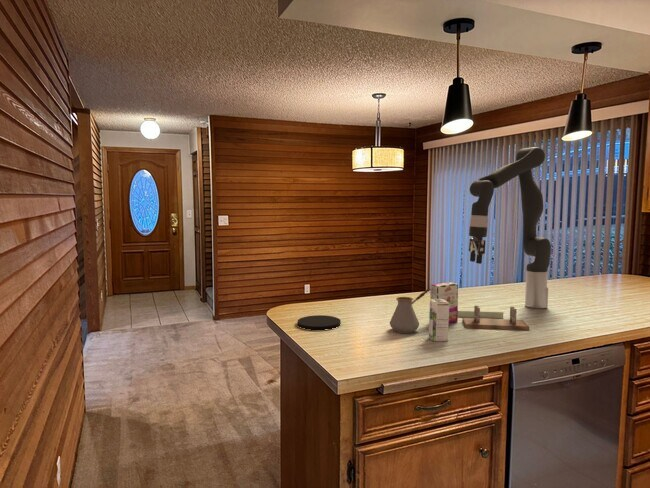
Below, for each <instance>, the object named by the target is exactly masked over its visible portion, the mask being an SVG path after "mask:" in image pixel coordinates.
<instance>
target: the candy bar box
mask: <svg viewBox="0 0 650 488" xmlns="http://www.w3.org/2000/svg"><path fill="white" fill-rule="evenodd" d="M429 289H431V290H432V291H431V290H429V292H430V293H429V294H430V295H429V296H430V299H444V300H445V301H447V302H449V324H454V323H458V322H459V321H458V318H459V317H458V308H459V305H458V303H459V293H458V292H459V284H458V283H456V282H452V281H449V282H442V283H434V284H430V288H429ZM431 292H432V293H431ZM430 299H429V300H430Z"/></svg>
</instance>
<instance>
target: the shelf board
mask: <svg viewBox="0 0 650 488" xmlns="http://www.w3.org/2000/svg"><path fill="white" fill-rule="evenodd" d="M458 318H474V307H458ZM480 318H482V319H504V311H503V310H502V309H501V308H480Z"/></svg>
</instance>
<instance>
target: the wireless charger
mask: <svg viewBox="0 0 650 488" xmlns="http://www.w3.org/2000/svg"><path fill="white" fill-rule="evenodd" d="M341 323H342V322H341V319H340V318H338V317H336V316H331V315H325V314H324V315H307V316H303V317H300V318H299V319H298V320H297V327H298V326H299V327H301V328H300V329H302V328H305V329H311V330H310V331H312V330H325V329H332V328H336V327H338V326H340V327H341V325H342V324H341ZM340 324H341V325H340ZM299 327H298V328H299ZM338 328H339V327H338ZM305 329H304V330H305ZM336 329H337V328H336ZM332 330H333V329H332ZM325 331H326V330H325Z"/></svg>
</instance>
